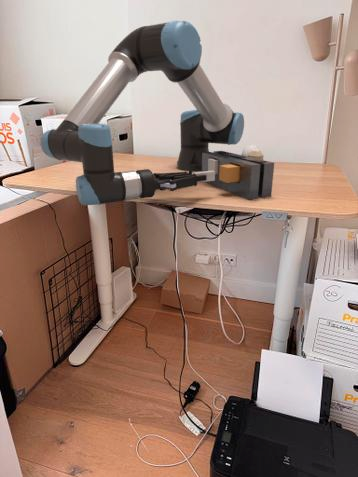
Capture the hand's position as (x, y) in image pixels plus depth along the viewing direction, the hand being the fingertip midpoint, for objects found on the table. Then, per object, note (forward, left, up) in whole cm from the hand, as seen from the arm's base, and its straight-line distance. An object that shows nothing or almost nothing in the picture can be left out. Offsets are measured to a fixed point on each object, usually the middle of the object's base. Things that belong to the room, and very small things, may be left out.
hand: (213, 175), depth 98 cm
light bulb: (-12, +36, -7) cm, 38 cm away
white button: (-9, +12, -2) cm, 15 cm away
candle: (-5, +29, -7) cm, 30 cm away
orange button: (+2, +5, -2) cm, 6 cm away
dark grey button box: (-2, +13, -6) cm, 15 cm away
